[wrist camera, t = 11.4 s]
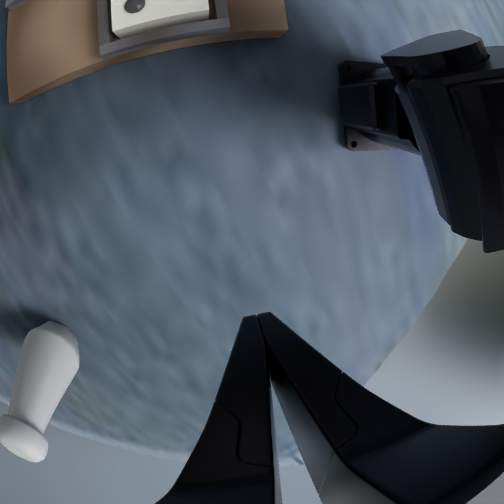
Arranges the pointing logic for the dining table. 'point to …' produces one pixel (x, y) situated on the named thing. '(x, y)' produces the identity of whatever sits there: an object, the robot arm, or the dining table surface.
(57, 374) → the salt shaker
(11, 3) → the board
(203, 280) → the dining table surface
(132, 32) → the tile two
